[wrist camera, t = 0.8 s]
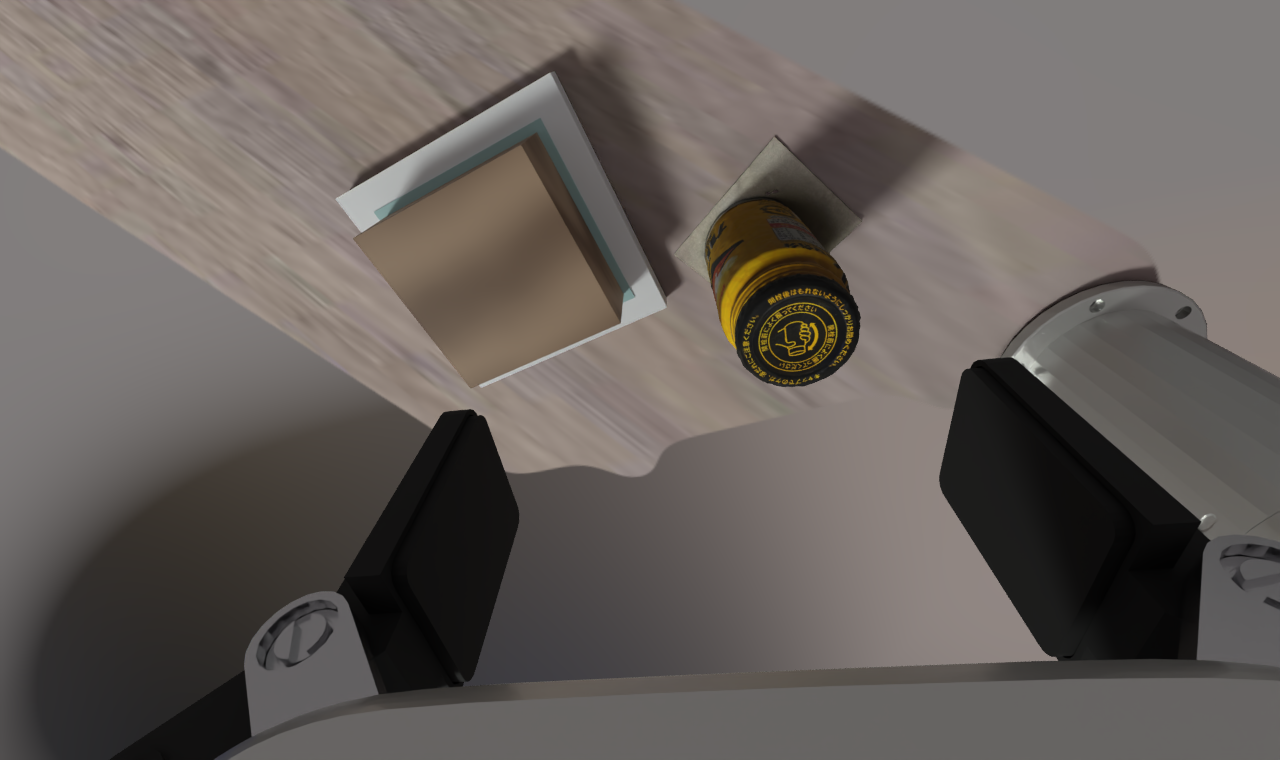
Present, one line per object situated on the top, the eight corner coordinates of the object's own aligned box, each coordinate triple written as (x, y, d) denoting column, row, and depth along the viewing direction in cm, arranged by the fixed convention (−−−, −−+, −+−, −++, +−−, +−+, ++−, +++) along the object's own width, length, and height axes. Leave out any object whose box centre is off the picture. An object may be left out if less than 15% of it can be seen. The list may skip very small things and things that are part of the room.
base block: (623, 294, 32) (620, 323, 29) (488, 354, 34) (470, 388, 31) (536, 132, 27) (521, 144, 24) (386, 216, 30) (352, 238, 26)
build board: (666, 297, 34) (667, 308, 32) (486, 376, 37) (480, 388, 36) (554, 71, 27) (550, 72, 26) (348, 192, 31) (334, 199, 29)
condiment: (673, 253, 32) (684, 349, 22) (773, 136, 29) (841, 186, 19) (758, 320, 35) (802, 434, 25) (860, 219, 31) (961, 304, 21)
